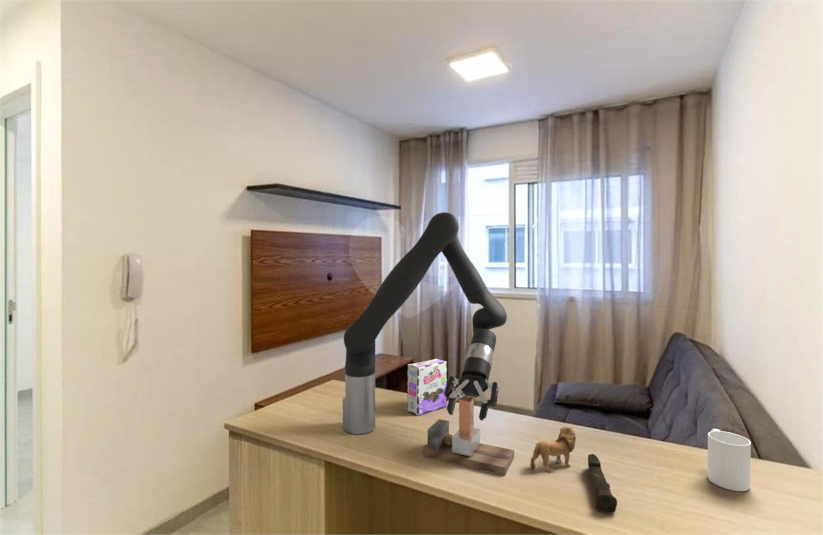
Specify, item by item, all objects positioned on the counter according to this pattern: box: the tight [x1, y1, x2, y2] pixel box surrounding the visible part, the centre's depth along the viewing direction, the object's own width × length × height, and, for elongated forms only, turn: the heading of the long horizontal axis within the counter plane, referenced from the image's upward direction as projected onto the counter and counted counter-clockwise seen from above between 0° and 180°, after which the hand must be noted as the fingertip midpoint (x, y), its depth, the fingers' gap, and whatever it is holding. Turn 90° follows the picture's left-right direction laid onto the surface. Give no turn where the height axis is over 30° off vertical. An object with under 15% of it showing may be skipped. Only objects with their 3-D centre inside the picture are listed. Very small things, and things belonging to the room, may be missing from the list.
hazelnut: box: [444, 433, 454, 446], centre depth 110 cm, size 3×3×3 cm
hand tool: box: [587, 453, 618, 514], centre depth 93 cm, size 19×4×5 cm, turn 163°
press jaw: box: [452, 396, 481, 457], centre depth 108 cm, size 5×8×13 cm, turn 153°
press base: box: [422, 418, 515, 477], centre depth 108 cm, size 22×10×7 cm, turn 63°
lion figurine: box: [529, 425, 577, 473], centre depth 103 cm, size 15×5×9 cm, turn 119°
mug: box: [707, 428, 752, 492], centre depth 97 cm, size 12×8×10 cm, turn 164°
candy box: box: [406, 358, 448, 416], centre depth 143 cm, size 14×6×16 cm, turn 129°
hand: (465, 416), depth 107 cm, fingers open, 8 cm apart
